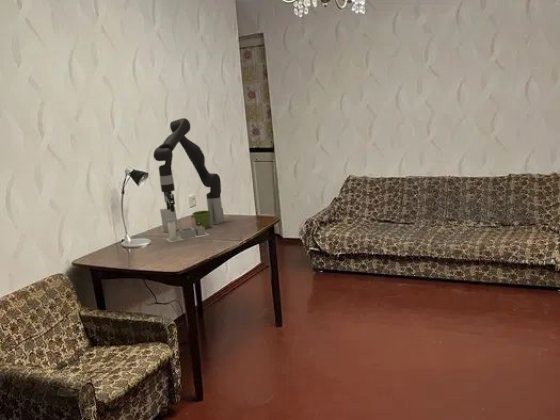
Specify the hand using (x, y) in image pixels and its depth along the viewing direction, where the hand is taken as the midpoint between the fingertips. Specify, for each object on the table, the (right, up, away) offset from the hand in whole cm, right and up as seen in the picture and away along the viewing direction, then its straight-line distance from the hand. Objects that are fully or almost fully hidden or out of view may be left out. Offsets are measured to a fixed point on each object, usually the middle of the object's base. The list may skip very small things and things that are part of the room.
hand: (170, 210), depth 307 cm
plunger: (+16, -14, +10) cm, 23 cm away
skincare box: (-7, -14, +33) cm, 36 cm away
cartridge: (+1, -17, +3) cm, 17 cm away
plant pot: (+15, -12, +28) cm, 34 cm away
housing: (+9, -17, +7) cm, 21 cm away
